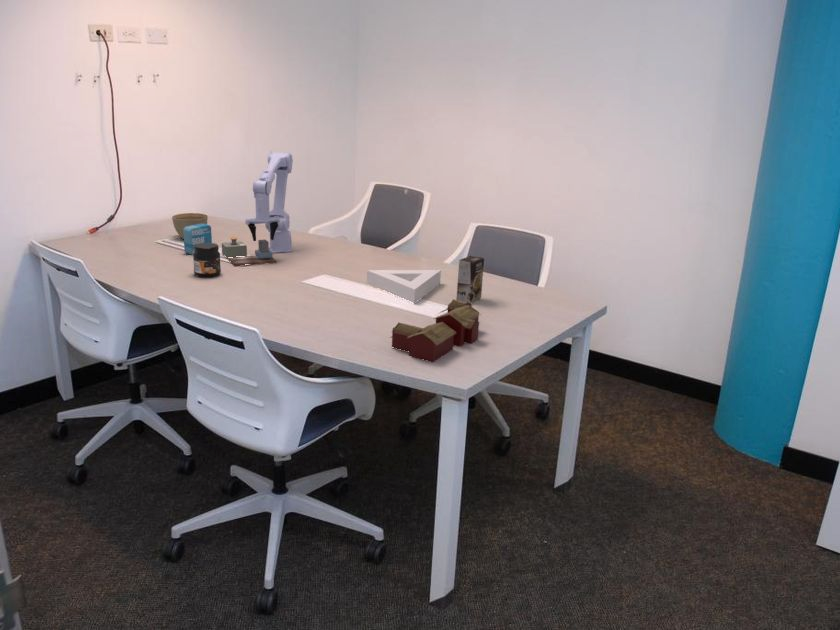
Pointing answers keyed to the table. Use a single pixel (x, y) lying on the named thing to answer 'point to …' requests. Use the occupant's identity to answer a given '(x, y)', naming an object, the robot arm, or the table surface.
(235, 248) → the cabinet
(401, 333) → the toy houses
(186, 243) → the data package
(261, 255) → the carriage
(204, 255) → the supplement container
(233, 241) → the button
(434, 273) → the triangle block
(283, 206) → the robot arm
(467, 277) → the coffee box
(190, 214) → the planter bowl
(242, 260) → the rail
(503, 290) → the table surface
